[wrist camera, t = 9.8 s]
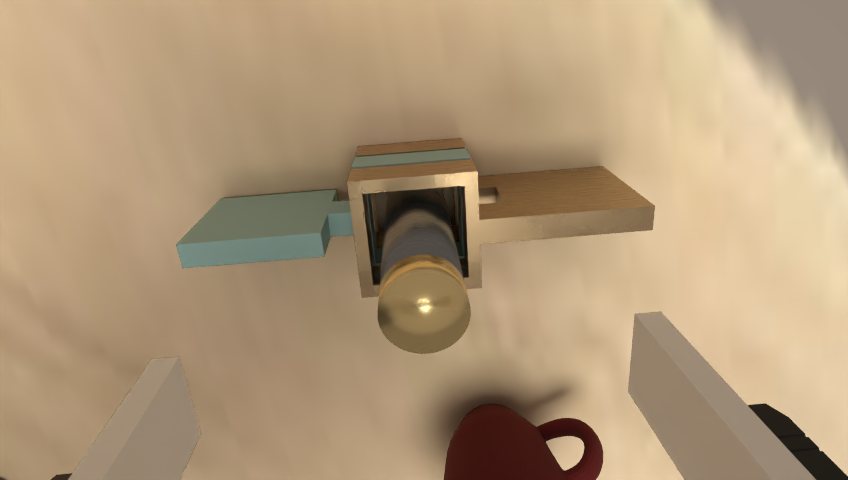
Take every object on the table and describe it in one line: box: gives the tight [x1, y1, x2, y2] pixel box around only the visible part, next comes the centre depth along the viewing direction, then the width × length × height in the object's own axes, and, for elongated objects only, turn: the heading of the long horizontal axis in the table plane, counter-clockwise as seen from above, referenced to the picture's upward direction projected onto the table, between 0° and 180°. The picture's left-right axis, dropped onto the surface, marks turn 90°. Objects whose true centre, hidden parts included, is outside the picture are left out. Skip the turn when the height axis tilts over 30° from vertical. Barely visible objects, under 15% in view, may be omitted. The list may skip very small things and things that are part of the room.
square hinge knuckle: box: [347, 138, 655, 298], centre depth 29 cm, size 14×6×7 cm, turn 94°
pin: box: [378, 187, 470, 354], centre depth 25 cm, size 3×3×14 cm
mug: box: [444, 404, 603, 480], centre depth 34 cm, size 11×8×10 cm
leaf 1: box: [176, 148, 471, 268], centre depth 28 cm, size 14×6×7 cm, turn 94°
